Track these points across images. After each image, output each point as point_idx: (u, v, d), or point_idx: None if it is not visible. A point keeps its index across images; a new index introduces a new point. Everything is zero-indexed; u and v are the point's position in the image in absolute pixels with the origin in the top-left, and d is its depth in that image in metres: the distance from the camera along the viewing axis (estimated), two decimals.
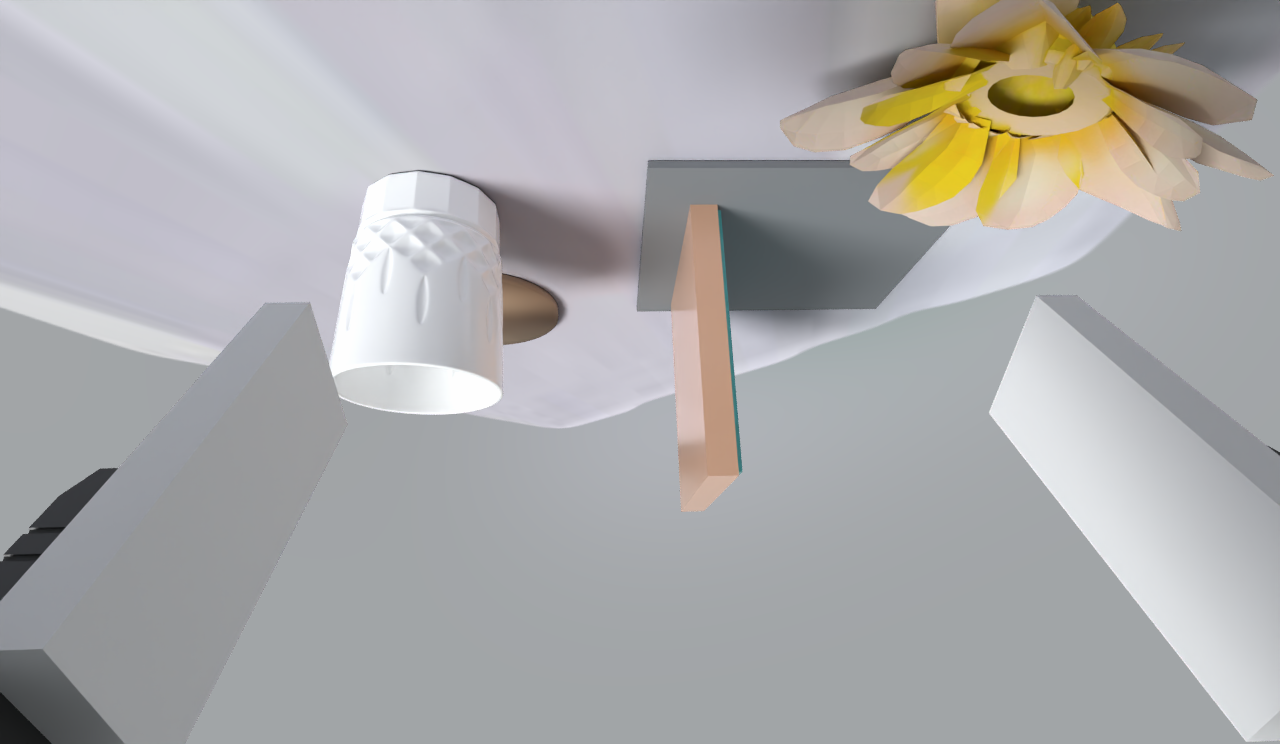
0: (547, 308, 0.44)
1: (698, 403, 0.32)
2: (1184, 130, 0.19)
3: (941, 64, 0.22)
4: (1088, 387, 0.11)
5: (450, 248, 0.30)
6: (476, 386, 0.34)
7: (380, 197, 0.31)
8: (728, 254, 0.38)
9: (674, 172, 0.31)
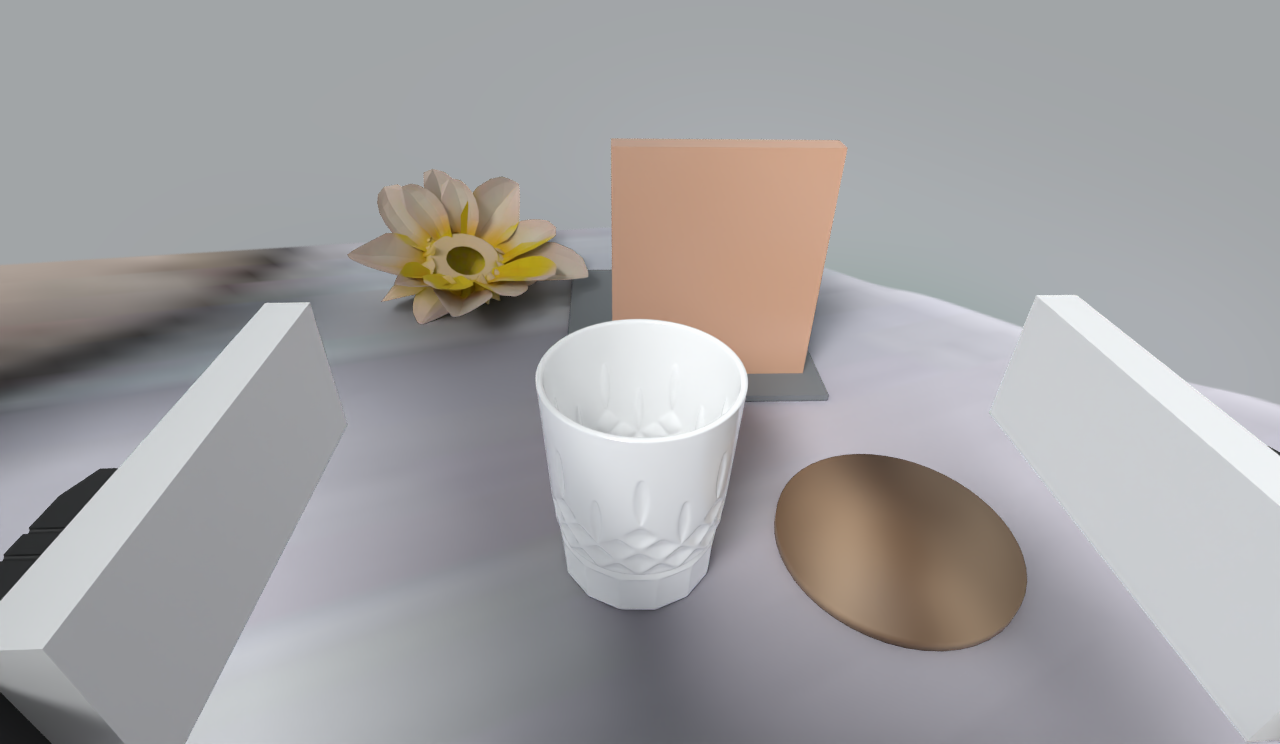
0: (841, 462, 0.34)
1: (639, 218, 0.35)
2: (418, 197, 0.47)
3: None
4: (1089, 387, 0.11)
5: None
6: (709, 365, 0.27)
7: (570, 560, 0.28)
8: None
9: None
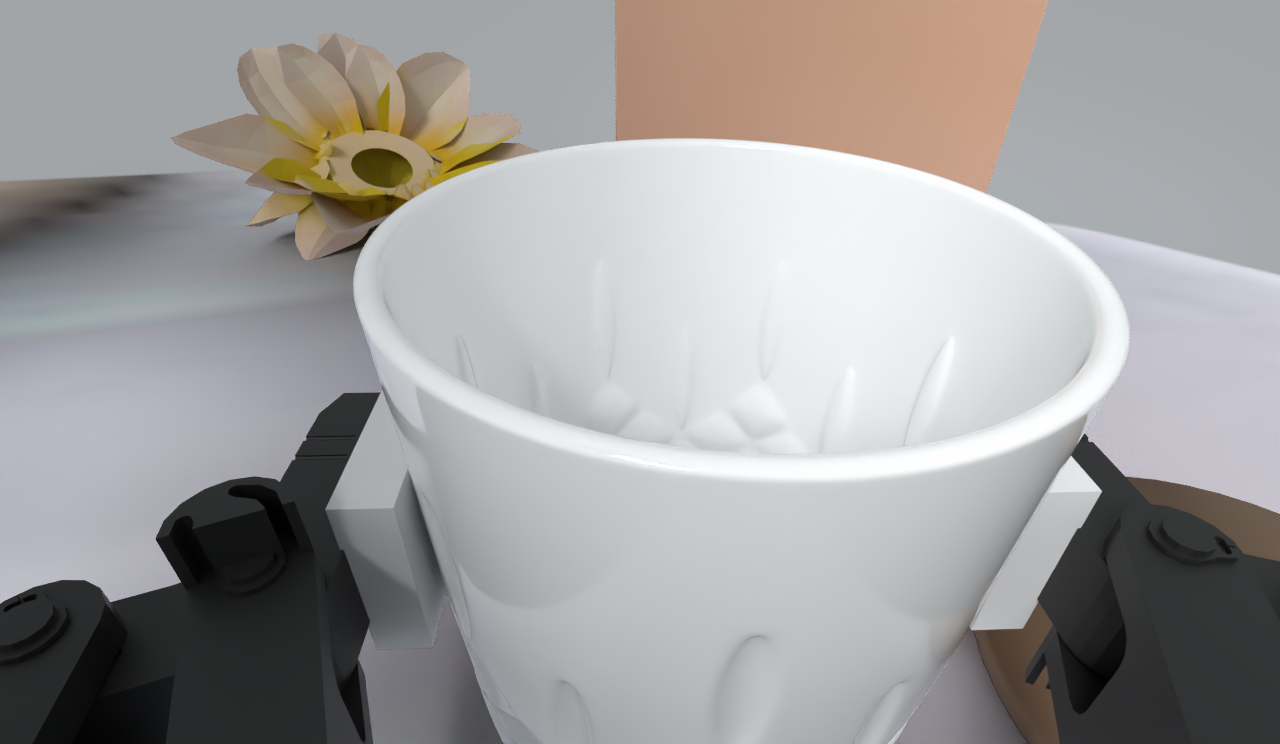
0: None
1: (669, 21, 0.18)
2: (307, 68, 0.31)
3: None
4: None
5: None
6: (885, 251, 0.10)
7: None
8: None
9: None
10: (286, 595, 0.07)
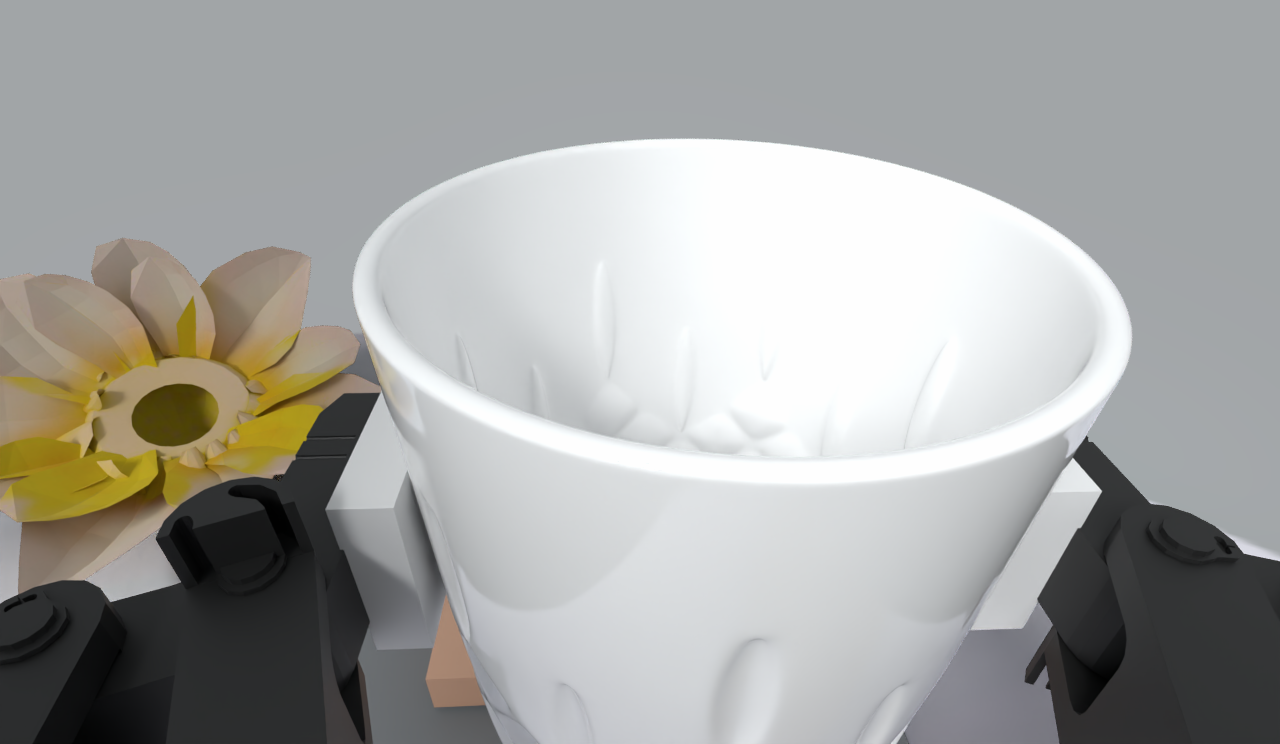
0: None
1: None
2: (73, 298, 0.24)
3: None
4: None
5: None
6: (886, 251, 0.10)
7: None
8: None
9: None
10: (286, 595, 0.07)
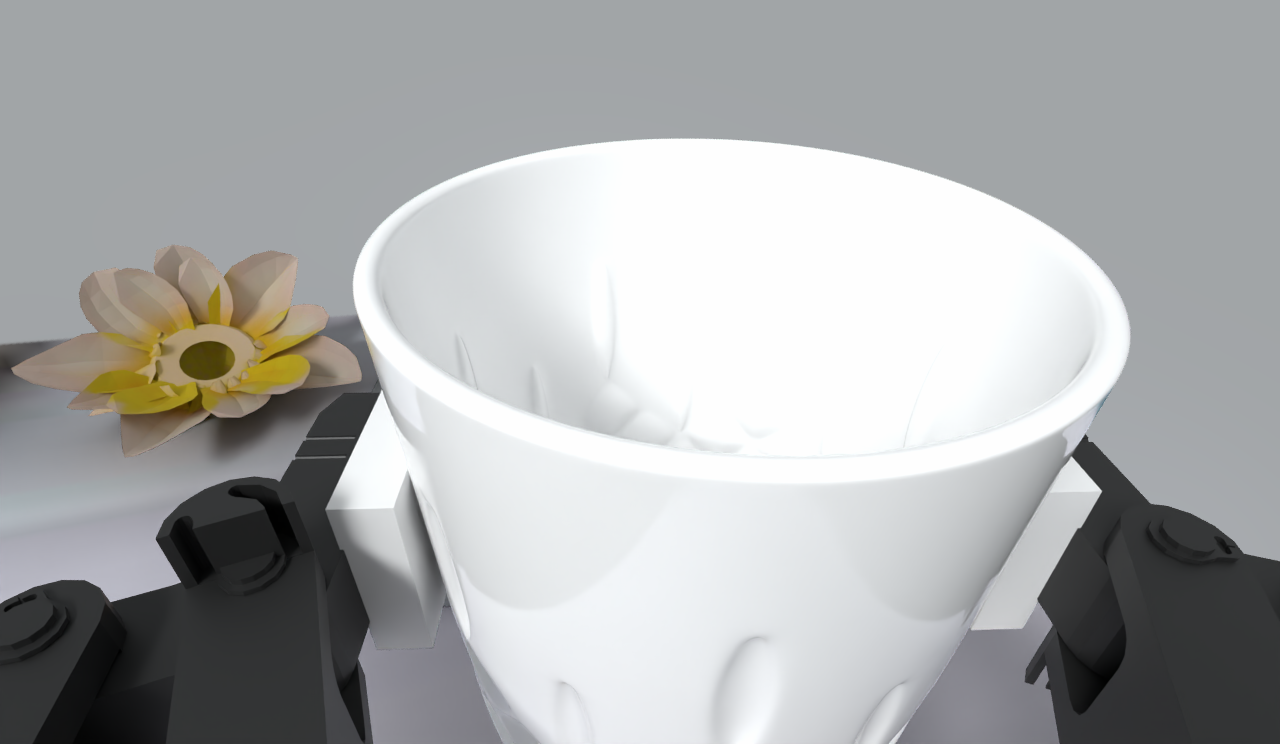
0: None
1: None
2: (142, 283, 0.38)
3: None
4: None
5: None
6: (885, 251, 0.10)
7: None
8: None
9: None
10: (285, 595, 0.07)
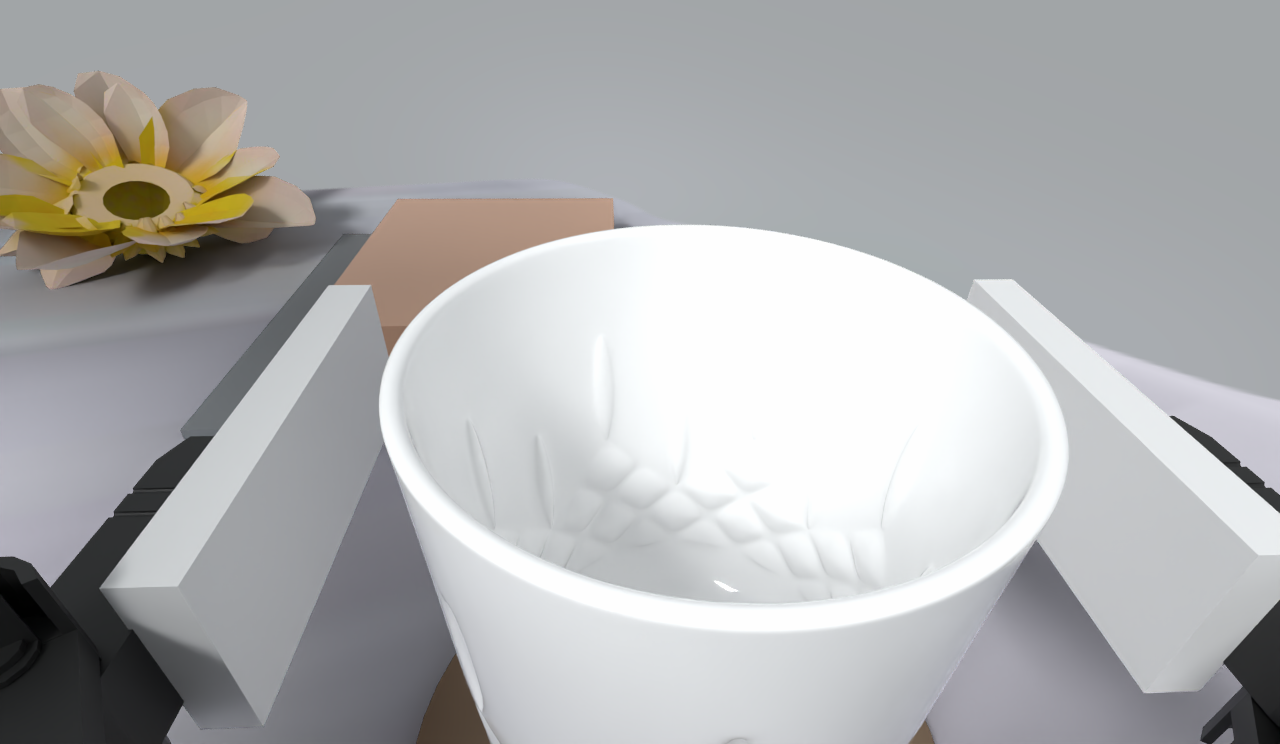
0: None
1: (407, 224, 0.33)
2: (59, 107, 0.32)
3: None
4: None
5: None
6: (864, 334, 0.11)
7: None
8: None
9: (208, 407, 0.23)
10: (39, 686, 0.06)
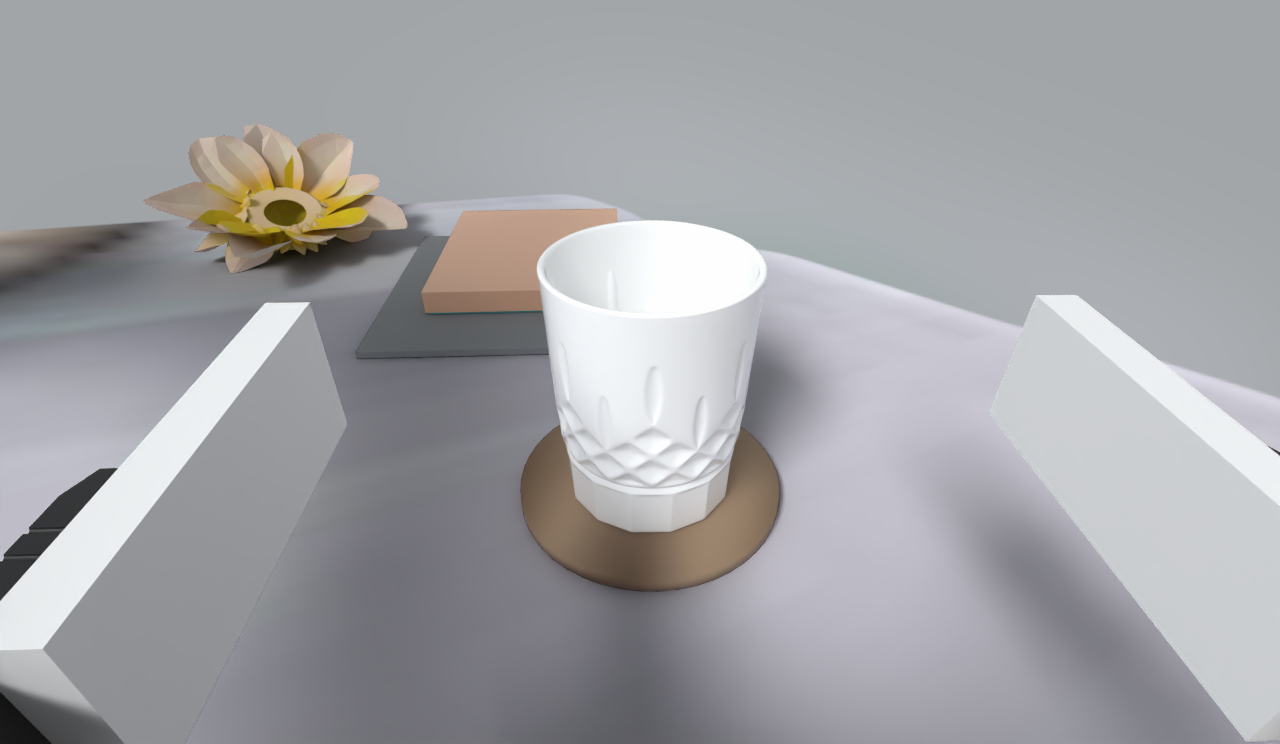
0: None
1: (474, 228, 0.48)
2: (235, 150, 0.47)
3: None
4: (1088, 387, 0.11)
5: None
6: (723, 265, 0.25)
7: (577, 482, 0.26)
8: None
9: (368, 340, 0.38)
10: None
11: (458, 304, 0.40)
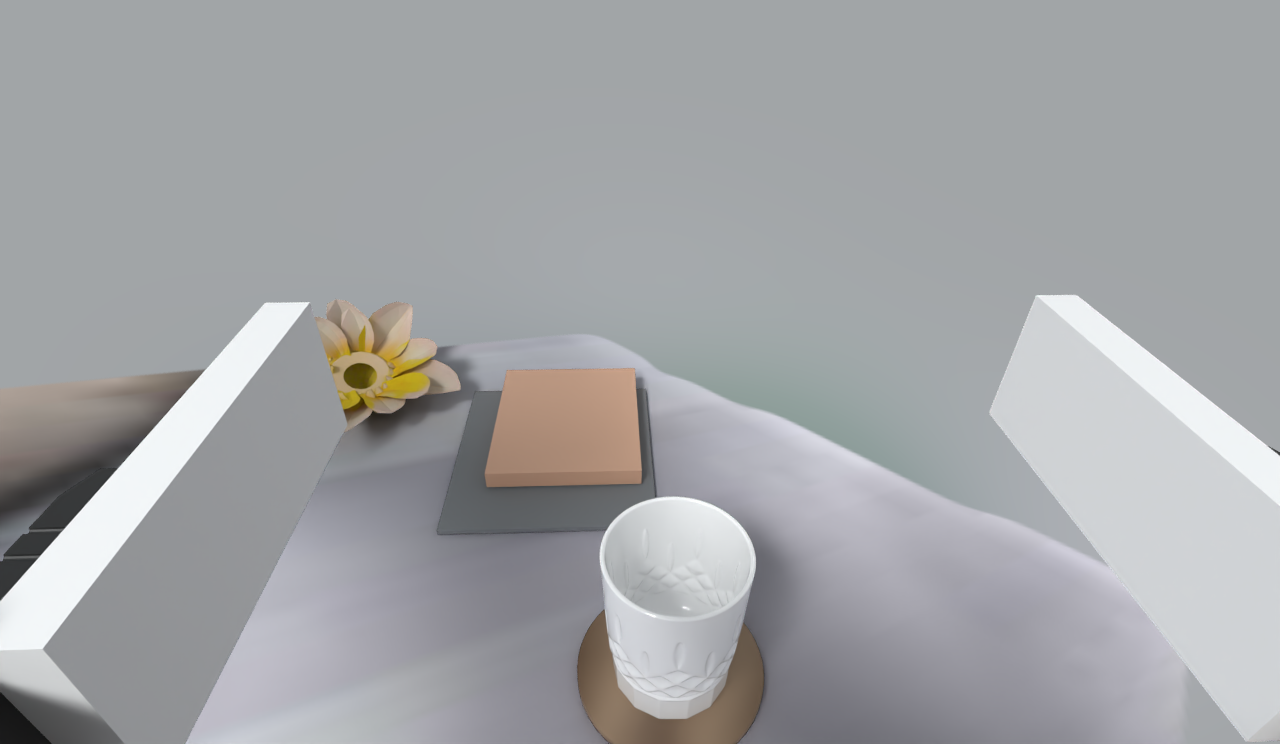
0: None
1: (518, 393, 0.58)
2: (320, 326, 0.58)
3: None
4: (1088, 387, 0.11)
5: None
6: (725, 534, 0.36)
7: (620, 680, 0.36)
8: None
9: (444, 517, 0.48)
10: None
11: (513, 481, 0.50)
